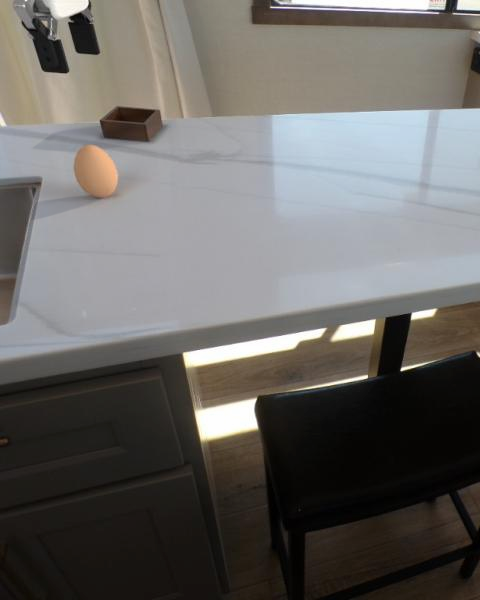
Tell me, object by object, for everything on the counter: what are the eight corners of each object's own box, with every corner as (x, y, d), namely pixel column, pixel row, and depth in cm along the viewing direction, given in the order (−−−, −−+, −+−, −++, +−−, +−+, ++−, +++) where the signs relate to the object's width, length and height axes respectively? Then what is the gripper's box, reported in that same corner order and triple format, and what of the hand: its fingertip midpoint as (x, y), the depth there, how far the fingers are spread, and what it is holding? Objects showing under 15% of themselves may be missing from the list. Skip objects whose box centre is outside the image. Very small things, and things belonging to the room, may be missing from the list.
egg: (113, 206, 81) (99, 155, 75) (75, 203, 80) (58, 151, 75) (128, 189, 85) (116, 140, 80) (92, 186, 85) (78, 136, 80)
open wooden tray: (103, 137, 100) (99, 120, 98) (120, 122, 106) (116, 105, 104) (149, 141, 100) (145, 124, 98) (162, 126, 107) (159, 109, 105)
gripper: (33, -99, 67) (72, 45, 78) (-52, -96, 53) (9, 78, 64) (94, -92, 68) (125, 50, 78) (25, -88, 54) (73, 83, 65)
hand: (73, 62), depth 71 cm, fingers open, 9 cm apart
